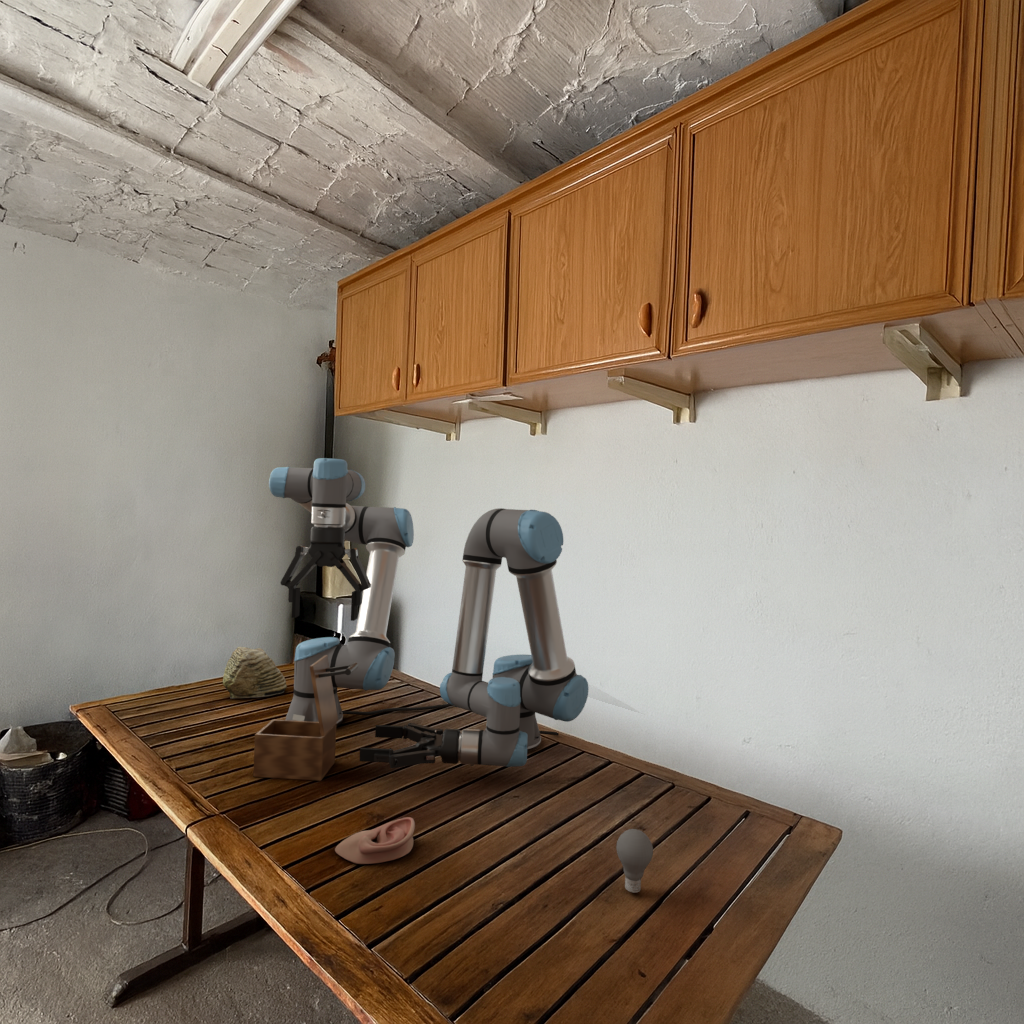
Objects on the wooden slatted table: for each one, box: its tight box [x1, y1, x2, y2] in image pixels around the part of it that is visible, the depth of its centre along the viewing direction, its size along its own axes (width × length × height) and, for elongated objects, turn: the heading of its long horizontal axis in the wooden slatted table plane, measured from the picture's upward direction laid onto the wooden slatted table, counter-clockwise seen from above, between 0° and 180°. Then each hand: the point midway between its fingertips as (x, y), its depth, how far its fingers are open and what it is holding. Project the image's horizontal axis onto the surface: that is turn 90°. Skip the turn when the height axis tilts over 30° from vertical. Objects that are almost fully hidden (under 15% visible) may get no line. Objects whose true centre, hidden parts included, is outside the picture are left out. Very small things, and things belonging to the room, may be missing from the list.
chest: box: [252, 718, 337, 782], centre depth 146 cm, size 15×10×10 cm, turn 88°
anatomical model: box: [334, 816, 416, 865], centre depth 115 cm, size 13×4×12 cm
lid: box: [310, 655, 358, 736], centre depth 146 cm, size 16×10×8 cm
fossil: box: [222, 646, 288, 699], centre depth 198 cm, size 9×18×15 cm, turn 132°
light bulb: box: [615, 828, 654, 894], centre depth 106 cm, size 6×6×10 cm
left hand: (324, 618), depth 146 cm, fingers open, 13 cm apart
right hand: (368, 742), depth 146 cm, fingers open, 13 cm apart
